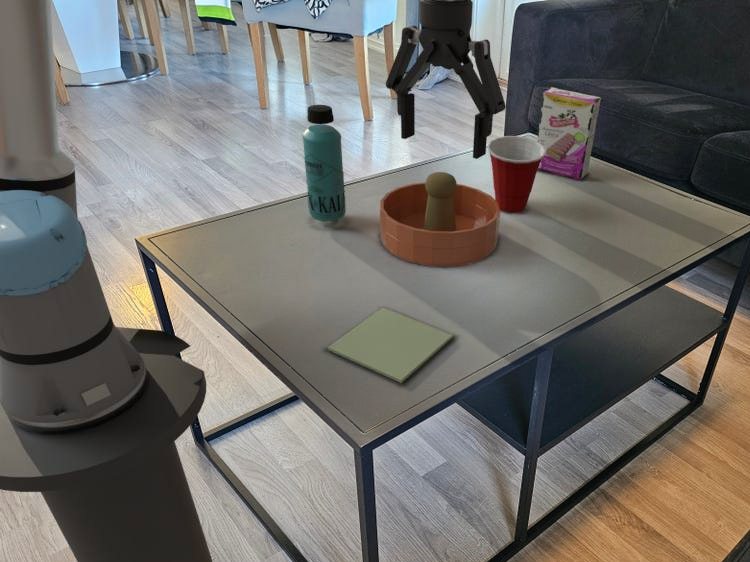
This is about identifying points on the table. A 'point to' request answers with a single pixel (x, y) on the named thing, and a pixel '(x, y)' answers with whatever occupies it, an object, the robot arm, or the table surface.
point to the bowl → (439, 248)
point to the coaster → (390, 344)
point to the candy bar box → (567, 131)
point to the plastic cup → (514, 170)
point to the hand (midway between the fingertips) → (442, 146)
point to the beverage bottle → (324, 166)
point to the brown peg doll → (440, 202)
